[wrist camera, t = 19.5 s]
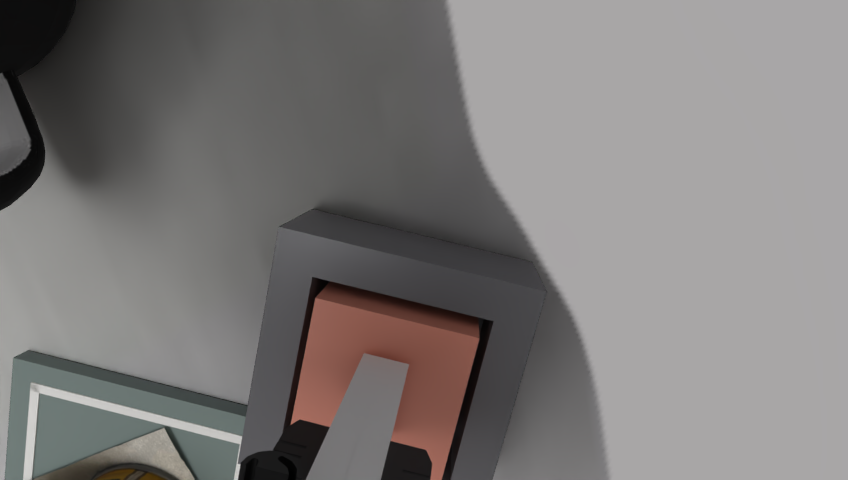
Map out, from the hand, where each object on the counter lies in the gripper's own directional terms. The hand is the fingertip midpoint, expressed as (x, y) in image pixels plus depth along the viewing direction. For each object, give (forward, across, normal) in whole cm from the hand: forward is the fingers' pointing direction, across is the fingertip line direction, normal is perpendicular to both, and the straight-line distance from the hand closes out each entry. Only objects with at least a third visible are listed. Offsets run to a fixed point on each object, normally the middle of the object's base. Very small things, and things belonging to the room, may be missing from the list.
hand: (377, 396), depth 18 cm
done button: (+3, 0, 0) cm, 3 cm away
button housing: (+5, 0, 0) cm, 5 cm away
